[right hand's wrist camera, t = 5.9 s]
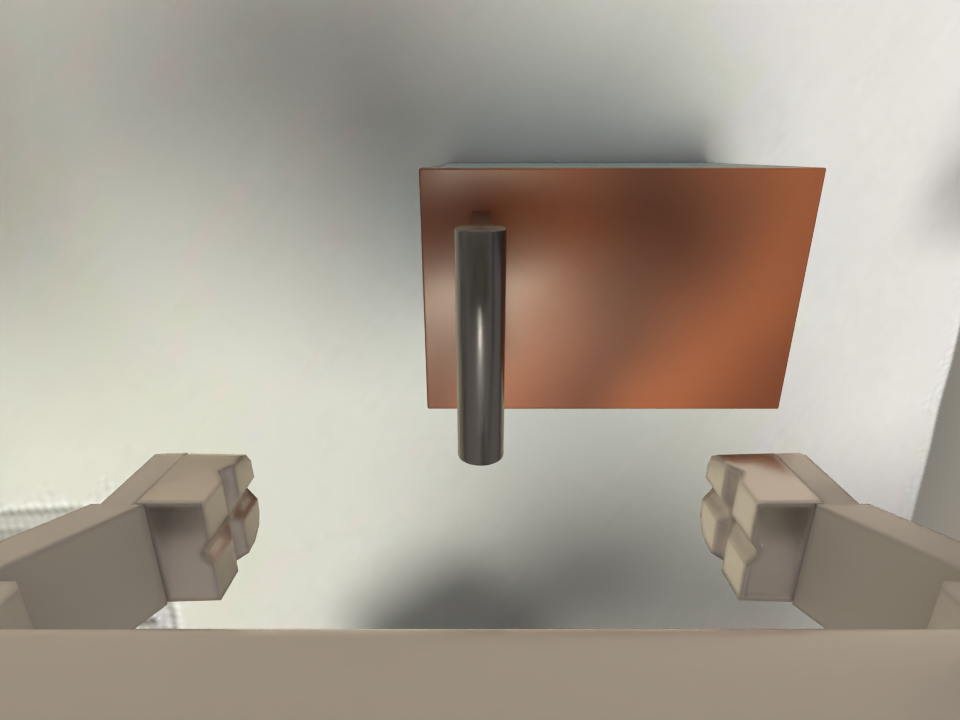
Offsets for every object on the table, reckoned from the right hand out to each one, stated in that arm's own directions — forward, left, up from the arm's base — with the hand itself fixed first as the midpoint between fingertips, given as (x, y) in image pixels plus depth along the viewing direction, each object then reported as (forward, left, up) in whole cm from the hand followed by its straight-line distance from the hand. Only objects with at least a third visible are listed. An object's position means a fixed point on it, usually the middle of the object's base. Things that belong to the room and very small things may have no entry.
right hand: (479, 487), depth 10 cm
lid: (+3, +4, -15) cm, 16 cm away
